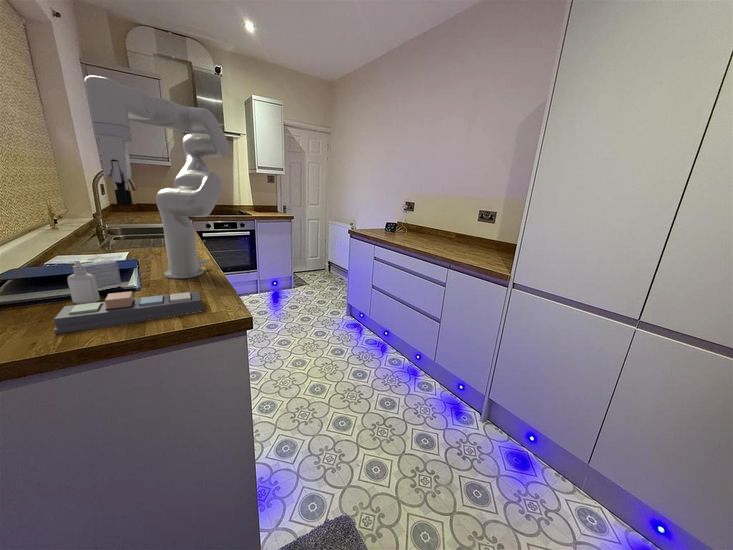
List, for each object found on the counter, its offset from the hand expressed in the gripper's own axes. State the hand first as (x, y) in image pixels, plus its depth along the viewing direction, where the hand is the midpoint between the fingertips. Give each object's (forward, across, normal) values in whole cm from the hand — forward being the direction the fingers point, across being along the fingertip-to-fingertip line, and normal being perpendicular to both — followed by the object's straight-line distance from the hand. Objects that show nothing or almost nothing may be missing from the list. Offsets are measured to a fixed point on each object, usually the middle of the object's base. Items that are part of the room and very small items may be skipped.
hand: (125, 204), depth 80 cm
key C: (+26, +15, -9) cm, 31 cm away
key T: (+26, +15, +4) cm, 30 cm away
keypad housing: (+27, +15, +1) cm, 31 cm away
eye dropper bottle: (+27, +1, -12) cm, 30 cm away
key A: (+26, +15, +11) cm, 32 cm away
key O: (+24, +15, -3) cm, 28 cm away
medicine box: (+27, -10, -10) cm, 31 cm away
